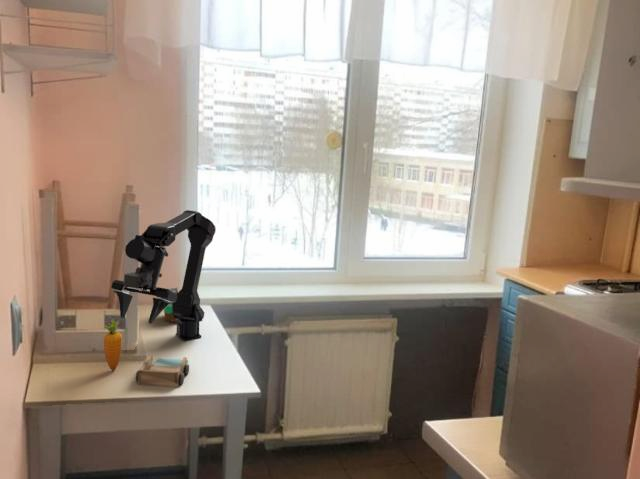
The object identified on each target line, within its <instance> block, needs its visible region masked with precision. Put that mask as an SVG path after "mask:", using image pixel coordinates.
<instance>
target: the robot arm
mask: <svg viewBox="0 0 640 479" xmlns="http://www.w3.org/2000/svg"><path fill="white" fill-rule="evenodd" d="M146 228H147V229H145V230H144V232H143V233H142V234H136V235H135V237H134V239H133V238H132V239H131V240H129V241H128V243H127V244H126V245H125V248H124V249H125V250H124V251H125V255H126V256H127V257H128V258H129V259H132V260H133V261H136V262H138V263H140V266H139V267H136V269H135V271H134V272H128V273H124V275H123V280H119V279H115V280H114V281H112V282H111V285H110V289H111V290H113V293H114V294H116V296H117V297H118V298H117V299H118V302H119V315H120V319H125V317H126V315H127V312H128V310H129V307H130V305H131V302H132V299H133V297H134V295H132V294H129V292H133V293H135V294H142V295H147V296H154V297H152V303H153V304H152V307H151V311H150V315H149V318H148V324H153V323H154V322H155V320H157V318H158V316H159V315H160V314H161V313H162V312H164V308H165V307H166V306H167V305H168V304H170V305H171V302H173V303H172V311H173V316H174V319H178V323H176V333H175V336H177V337H178V338H179V339H180V340H182V341H184V342H185V341H190V340H195V339H196V340H197V339H201V338H202V335H201V334H200V322H203V319H204V317H205V311H204V310H203V308H202V307H201V305H200V304H201V298H200V296H199V293H198V288H199V282H200V278H201V274H202V273H201V272H202V267H203V264H204V258H205V254H206V253H205V252H206V248H208V246H209V245H210V244H211V243H212V242H213V240H214V237H215V234H216V229H217V228H216V226H215V224H214V222H213V221H212V220H210V219H209V218H207V217H205V216H203V214H202V213H201V212H199V211H196V210H189V209H187V210H184V211H183V213H181V214H179V215H177V216H175V217H173V218H172V219H169V220H168V221H165V222H161V223H160V222H158V223H153V224H152V223H151V224H149V226H147V227H146ZM186 230H187V231H188V232H187V238H188V241H189V243H190V247H189V253H188V258H187V262H186V267H185V273H184V276H183V282H182V287H181V289H180V290H179V291H178V293H177V292H174V291H172V290H169V288H165V287H164V288H163V287H157V286H158V282H159V278H162V276H163V274H162V273H161V270H162V267H163V262H164V259H165V257H169V253H168V251H167V249H166V247H169V246H171V244H173V243H174V242H175V241H176V236H178V235H179V234H180V233H183V232H184V231H186ZM170 301H171V302H170Z"/></svg>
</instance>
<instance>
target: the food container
mask: <svg viewBox="0 0 640 479" xmlns="http://www.w3.org/2000/svg"><path fill="white" fill-rule="evenodd" d="M168 289H169V290H172V291H174V292H177V293H178V292H179V291H178V287H171V288H170V287H169V288H168ZM170 302H171V301H170ZM172 303H173V302H171V305H170V304H168V305H167V306H166V307H165V308H164V309H163V316H164V320H165V322H167V323H170V324H177V323H178V319H174V316H173V311H172Z"/></svg>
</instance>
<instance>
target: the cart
mask: <svg viewBox="0 0 640 479" xmlns="http://www.w3.org/2000/svg"><path fill="white" fill-rule="evenodd" d="M153 358H154V356H153V355H152V354H149V356H148V357H147V358H146V360H144V362H143V364H142V365H141V366H140V368H139V369H138V370H137V371H136V374H135V381H136V382H137V383H138V384H137V385H141V386H142V385H143V386H156V387H169V388H170V387H172V388H173V387H174V388H178V387H179V385H183V384H184V381H185V375H187V376H188V375H189V373H190V372H189V371H190V364H189V359H187V357H182V359H181V358H180V359H179V358H178V359H177V358H166V357H165V358H162V357H158V358H157V360H156V361H155V363H154V361H153Z"/></svg>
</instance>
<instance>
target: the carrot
mask: <svg viewBox="0 0 640 479" xmlns="http://www.w3.org/2000/svg"><path fill="white" fill-rule="evenodd" d="M110 321H111V323H110V326H108V325H107V324H104V325H103V328H104V329H106V330H108V332H106V333H105V334H104V338H103V349H104V356H105V359H106V363H107V366H108V367H109V369H110V370H111V371H112V372H114V371H116V369H117V367H118V365H119V363H120V359H121V355H122V347H123V345H122V344H123V335H122V333H121V332H119V331H116V330H117V328H118V326H119V323H118V322H116V321H115V319H113V318H112V319H110Z"/></svg>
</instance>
